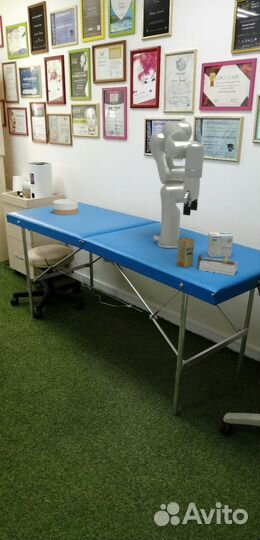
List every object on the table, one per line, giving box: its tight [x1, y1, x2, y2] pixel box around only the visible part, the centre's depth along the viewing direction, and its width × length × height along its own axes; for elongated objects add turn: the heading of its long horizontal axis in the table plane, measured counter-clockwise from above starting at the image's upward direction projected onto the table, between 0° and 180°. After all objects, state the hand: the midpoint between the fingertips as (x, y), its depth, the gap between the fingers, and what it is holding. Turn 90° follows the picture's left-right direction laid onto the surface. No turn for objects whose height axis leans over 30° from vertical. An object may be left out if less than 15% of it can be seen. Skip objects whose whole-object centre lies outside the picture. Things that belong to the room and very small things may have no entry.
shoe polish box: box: [176, 237, 195, 269], centre depth 179 cm, size 5×5×12 cm
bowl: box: [52, 198, 79, 216], centre depth 282 cm, size 17×17×8 cm
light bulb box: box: [206, 231, 234, 258], centre depth 194 cm, size 11×7×11 cm, turn 92°
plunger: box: [197, 253, 229, 267], centre depth 175 cm, size 12×3×5 cm, turn 66°
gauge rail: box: [198, 256, 238, 277], centre depth 174 cm, size 15×7×4 cm, turn 66°
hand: (190, 212), depth 179 cm, fingers open, 9 cm apart
